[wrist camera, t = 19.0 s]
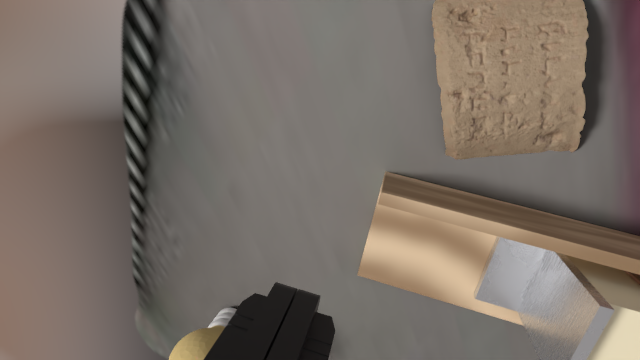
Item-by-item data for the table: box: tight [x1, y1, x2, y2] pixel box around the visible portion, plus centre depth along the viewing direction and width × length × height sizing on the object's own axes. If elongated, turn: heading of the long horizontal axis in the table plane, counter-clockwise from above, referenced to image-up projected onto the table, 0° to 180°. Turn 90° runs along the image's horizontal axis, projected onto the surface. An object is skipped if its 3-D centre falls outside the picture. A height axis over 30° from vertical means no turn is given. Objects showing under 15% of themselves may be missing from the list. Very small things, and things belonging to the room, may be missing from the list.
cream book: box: [566, 255, 640, 360], centre depth 27 cm, size 7×4×8 cm, turn 168°
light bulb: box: [169, 308, 237, 360], centre depth 36 cm, size 6×6×10 cm
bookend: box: [474, 236, 614, 360], centre depth 27 cm, size 7×4×9 cm, turn 169°
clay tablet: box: [431, 0, 589, 159], centre depth 27 cm, size 14×10×3 cm
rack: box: [358, 171, 640, 325], centre depth 27 cm, size 10×25×10 cm, turn 78°
